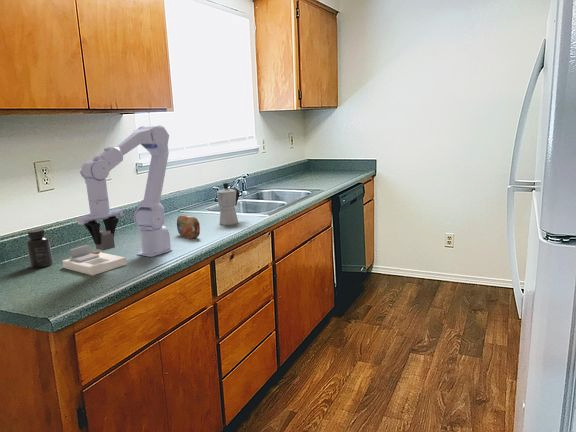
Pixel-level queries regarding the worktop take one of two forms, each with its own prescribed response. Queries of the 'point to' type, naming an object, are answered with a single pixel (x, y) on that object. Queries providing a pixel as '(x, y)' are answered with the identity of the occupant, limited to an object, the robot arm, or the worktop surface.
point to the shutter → (82, 254)
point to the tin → (188, 226)
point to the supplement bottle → (39, 249)
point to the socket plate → (95, 263)
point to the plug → (106, 240)
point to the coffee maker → (228, 205)
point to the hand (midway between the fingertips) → (104, 242)
